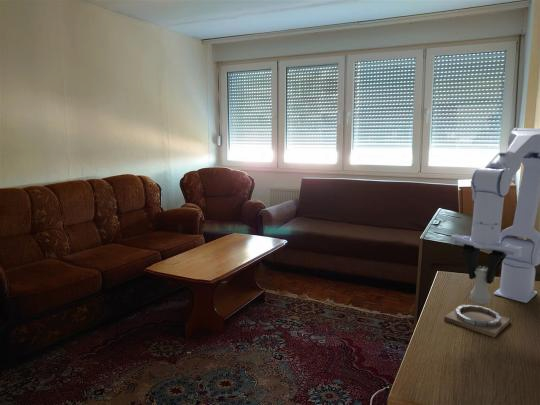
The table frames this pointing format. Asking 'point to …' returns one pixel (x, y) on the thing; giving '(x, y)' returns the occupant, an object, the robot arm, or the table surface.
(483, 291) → the rook chess piece
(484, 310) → the socket board
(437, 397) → the table surface
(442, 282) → the table surface
